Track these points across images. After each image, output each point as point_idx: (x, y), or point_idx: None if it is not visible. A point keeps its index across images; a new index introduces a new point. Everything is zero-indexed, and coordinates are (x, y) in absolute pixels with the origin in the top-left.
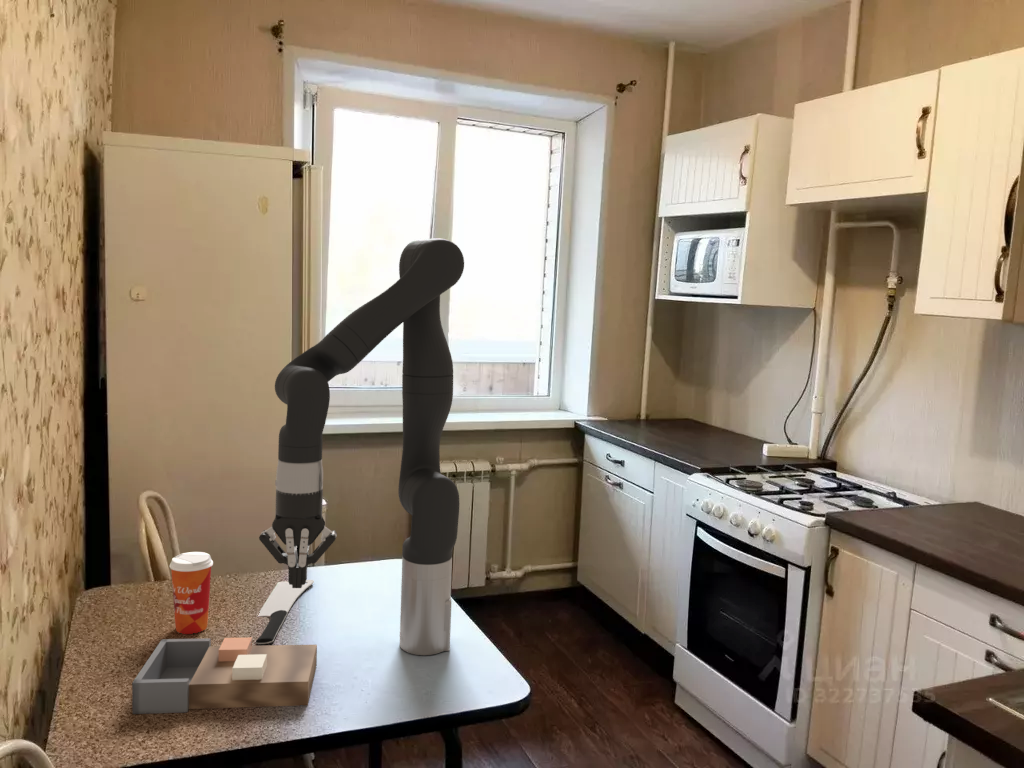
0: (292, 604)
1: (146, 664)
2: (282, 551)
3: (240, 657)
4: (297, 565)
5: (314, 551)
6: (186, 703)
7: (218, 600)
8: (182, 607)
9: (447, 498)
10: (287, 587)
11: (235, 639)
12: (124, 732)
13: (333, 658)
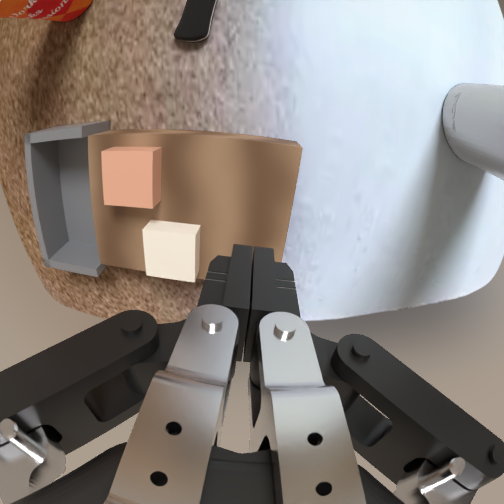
0: None
1: (35, 219)
2: (122, 364)
3: (148, 240)
4: (243, 338)
5: (359, 390)
6: None
7: None
8: (34, 18)
9: None
10: None
11: (121, 159)
12: (77, 277)
13: (330, 116)
